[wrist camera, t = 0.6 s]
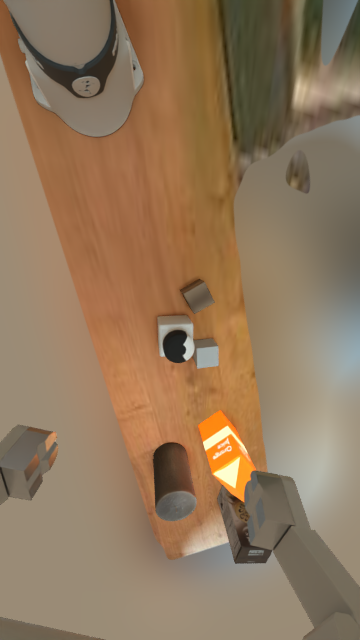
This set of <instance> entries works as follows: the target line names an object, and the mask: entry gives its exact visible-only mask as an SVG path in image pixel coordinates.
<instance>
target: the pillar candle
mask: <svg viewBox="0 0 360 640" xmlns="http://www.w3.org/2000/svg"><path fill="white" fill-rule="evenodd" d="M153 456H154V459H153V465H154V484H155V508H156V513H157V515H158V516H159V517H160V518H161V519H163V520H167V521H177V520H182V519H184V518H186V517H187V516H188V515H189V514H191V513H192V512H193V511H194V509H195V507H196V497H195V493H194V487H193V482H192V477H191V472H190V467H189V462H188V457H187V453H186V450H185V448H184V447H183V446H182V445H179V444H177V443H167V444H164V445H162V446H160V447H159V448H158V449H157V450H156V451H155V453H154V455H153Z"/></svg>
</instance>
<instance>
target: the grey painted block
mask: <svg viewBox="0 0 360 640" xmlns="http://www.w3.org/2000/svg"><path fill="white" fill-rule="evenodd" d="M193 342H194V346H195V349H194V353H193V359H194V361H195V364H196V366H197V368H205V367H213V366H218V345H217V344H216V343H215V341H214V340H213V339H212V338H211V339H202V340H193Z"/></svg>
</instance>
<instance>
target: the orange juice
mask: <svg viewBox="0 0 360 640" xmlns="http://www.w3.org/2000/svg"><path fill="white" fill-rule="evenodd" d="M198 426H199V430H200V433H201V436H202V440H203V444H204V447H205V451H206V453H207V457H208V460H209V463H210V467H211V470H212V473H213V475H214V476H215V477H216V478H217V479H218V480H219V481H220V482H221V483H222V484H223V485H224V486H225V487H226V489H227V490H228V491H229V492H230V493H231V494H233V495H234V496H236V497H237V498H239V499H240V500H241V501H243V502H244V490H245V485H246V483H247V481H249V480H251V478H250V474H251V472H252V471H253V470H255V471H256V469H255V467H254V465H253V463H252V461H251V459H250V457H249V455H248V453H247V451H246V449H245V447H244V445H243V443H242V441H241V439H240V437H239V435H238V433H237V431H236V429H235V428H234V427H233V425H232V424H231V423H230V422H229V420H228V419H227V418H226V417H225V416H224V414H223V413H222V412H221V411H218V412H217V413H215V414H214V415H212V416H211V417H209V418H208V419H206V420H205V421H204V422H202V423H201V424H199V425H198Z"/></svg>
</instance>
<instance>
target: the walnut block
mask: <svg viewBox="0 0 360 640" xmlns="http://www.w3.org/2000/svg"><path fill="white" fill-rule="evenodd" d="M180 291H181V293H182V294H183V296H184V298H185V300H186V302H187V303H188V305H189V307H190V309H191V310H192V311H193V313H194V314H195V313H197V312H199V311H201V310H202V309H204V308H206V307H208V306H209V305H211V304H213V303H215V302H214V300H213V298H212V296H211V294H210V292H209V290H208V288H207V286H206V284H205V282H204V281H202V280H200V279H199V280H197V281H195V282H194V283H192V284H190V285H188V286H186V287H185V288H183V289H181V290H180Z"/></svg>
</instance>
